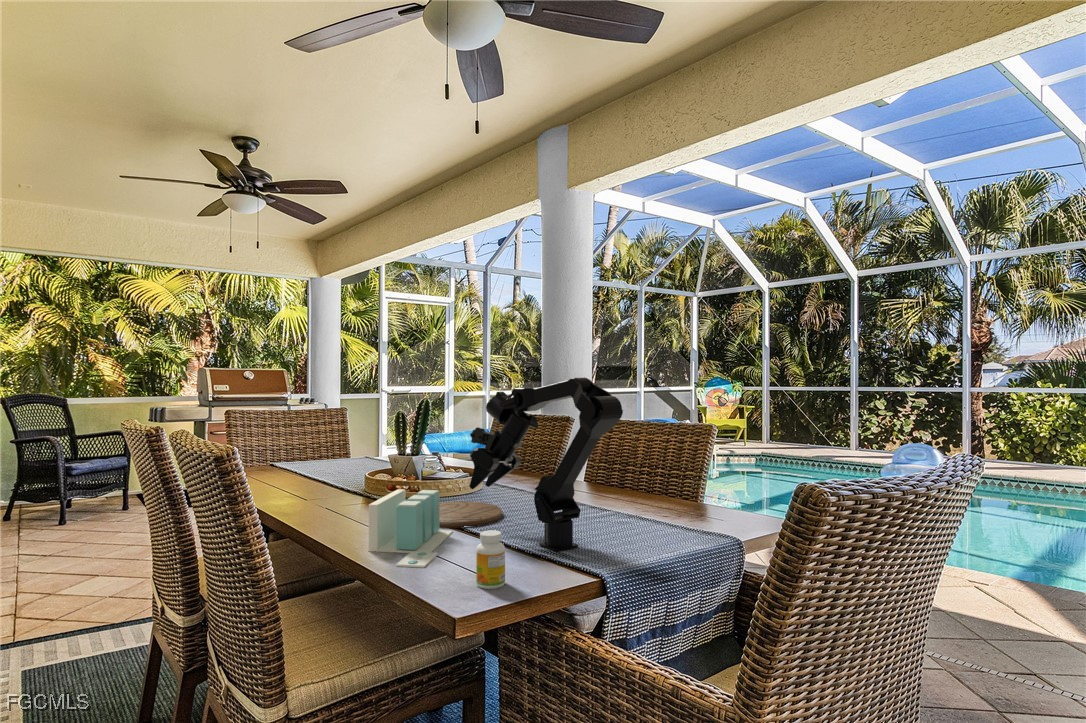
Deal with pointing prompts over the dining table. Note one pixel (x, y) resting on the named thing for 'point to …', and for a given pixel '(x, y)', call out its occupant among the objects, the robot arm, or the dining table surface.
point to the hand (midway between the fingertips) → (479, 487)
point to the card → (417, 559)
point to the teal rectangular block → (433, 508)
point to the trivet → (467, 514)
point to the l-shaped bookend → (394, 526)
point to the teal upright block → (424, 514)
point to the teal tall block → (409, 525)
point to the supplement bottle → (490, 560)
